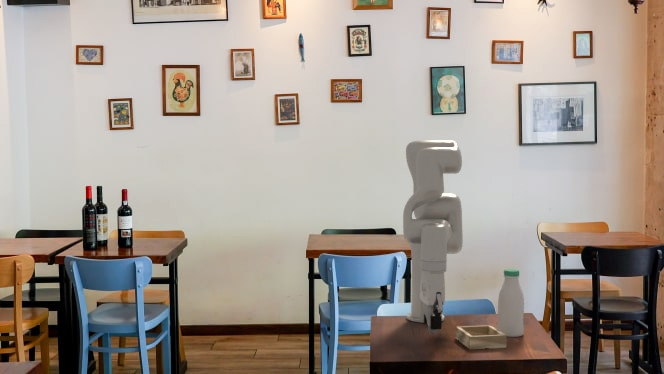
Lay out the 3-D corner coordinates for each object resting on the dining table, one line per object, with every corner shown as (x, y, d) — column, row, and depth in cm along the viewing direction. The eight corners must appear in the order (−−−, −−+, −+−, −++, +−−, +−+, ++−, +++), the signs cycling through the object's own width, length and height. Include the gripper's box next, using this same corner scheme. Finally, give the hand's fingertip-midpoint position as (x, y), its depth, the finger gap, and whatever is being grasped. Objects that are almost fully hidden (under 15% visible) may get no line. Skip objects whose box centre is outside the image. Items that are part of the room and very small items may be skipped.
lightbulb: (446, 333, 213) (447, 297, 212) (435, 338, 208) (435, 301, 207) (429, 329, 217) (430, 293, 216) (417, 334, 212) (418, 297, 211)
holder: (455, 338, 217) (455, 326, 217) (490, 336, 219) (490, 325, 218) (470, 349, 205) (470, 336, 205) (506, 347, 207) (506, 335, 207)
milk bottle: (524, 338, 217) (525, 272, 216) (497, 336, 219) (499, 271, 218) (522, 331, 225) (523, 268, 224) (497, 330, 227) (498, 267, 225)
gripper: (412, 260, 218) (411, 318, 220) (430, 272, 201) (429, 335, 203) (436, 259, 220) (435, 317, 221) (455, 271, 203) (454, 334, 205)
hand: (432, 325), depth 212 cm, fingers closed on lightbulb, 5 cm apart
